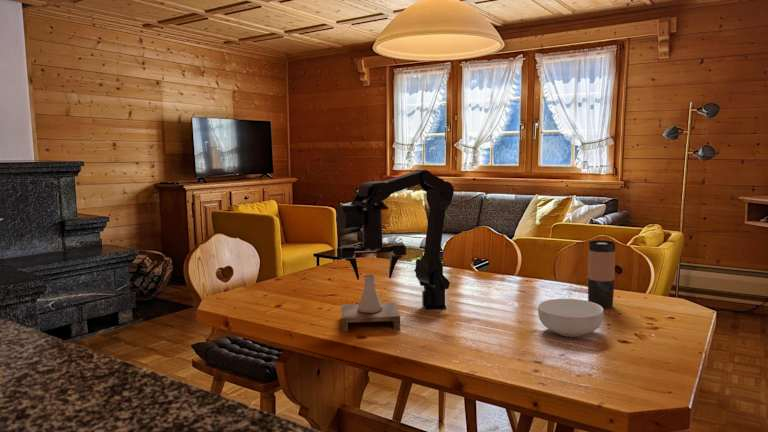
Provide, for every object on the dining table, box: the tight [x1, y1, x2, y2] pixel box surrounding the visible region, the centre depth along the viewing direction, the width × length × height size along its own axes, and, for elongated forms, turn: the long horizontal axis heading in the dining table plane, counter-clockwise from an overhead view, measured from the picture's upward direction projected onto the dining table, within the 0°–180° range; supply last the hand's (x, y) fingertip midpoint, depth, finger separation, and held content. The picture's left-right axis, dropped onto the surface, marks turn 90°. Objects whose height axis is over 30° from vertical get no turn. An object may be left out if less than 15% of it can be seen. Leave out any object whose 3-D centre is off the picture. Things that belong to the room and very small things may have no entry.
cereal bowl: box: [537, 298, 605, 338], centre depth 153 cm, size 17×17×7 cm
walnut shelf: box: [341, 302, 401, 334], centre depth 163 cm, size 16×14×4 cm
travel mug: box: [587, 239, 616, 310], centre depth 176 cm, size 8×8×20 cm
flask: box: [357, 274, 383, 313], centre depth 162 cm, size 7×7×10 cm
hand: (374, 279), depth 166 cm, fingers open, 9 cm apart
